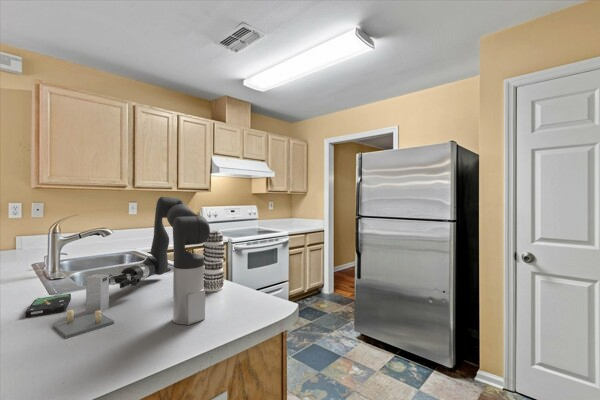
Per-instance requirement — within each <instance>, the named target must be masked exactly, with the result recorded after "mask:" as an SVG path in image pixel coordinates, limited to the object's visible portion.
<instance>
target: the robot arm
mask: <svg viewBox="0 0 600 400" xmlns="http://www.w3.org/2000/svg"><path fill="white" fill-rule="evenodd" d="M155 205H156V206H155V213H154V214H155V215H154V222H153V223H154V224H153V236H152V237H153V239H152V242H151V243H152V244H151V247H150V256H148V257H146V259H145V260H144V261H142V262H141V263H137V264H134V265H131V266H127V267H126V268H124V269H123V270H122V271H121V273H118V274H114V275H113V274H112V273H111V274H109V286H110V285H111V286H115V285H119V288H120V289H123V288H126V287H128V286H129V287H131V286H137V285H140V284H141V283H142V282H144V280H145V279H147V278H149V277H151V276H153V275H155V274H156V275H158V276H160V275H163V274H165V273H166V272H167V270H168V266H169V260H168V249H169V245H170V236H169V234H168V233H167V230H166V228H165V226H164V223H163V218H164V219H166V220H167V223H168V224H169V225H170V226H171V228H172V242H173V276H172V277H173V279H172V280H173V283H172V284H173V285H172V286H173V289H172V290H173V291H172V292H173V293H172V295H173V296H172V322H173V323H174V324H177V325H187V326H190V325H193V324H195V323H198V322H200V321H203V320H205V319H206V291H205V290H204V280H205V279H204V276H205V275H204V268H205V263H204V255H201V254H198V253H193V252H191V251H188V250H187V249H186V246H193V245H201V244H202V245H203V244H204V242H206V241H207V240H208V238H209V235H210V231H211V227H210V225H209V222H208V220H207V219H206V217H204V216H202V215H199V214H197V213H195V212H194V211H193V210H192V209H190V208H189V207H188V206H187V205H186V204H185V202H184V201H183V200H182V199H181V198H176V197H170V196H168V197H167V196H160V197H159V198H158V199H157V201H156V204H155Z"/></svg>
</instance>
